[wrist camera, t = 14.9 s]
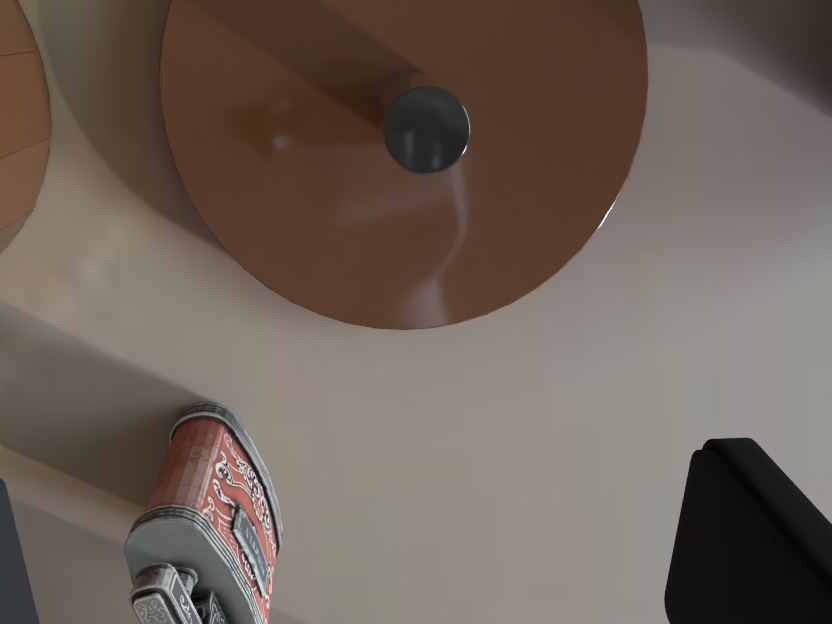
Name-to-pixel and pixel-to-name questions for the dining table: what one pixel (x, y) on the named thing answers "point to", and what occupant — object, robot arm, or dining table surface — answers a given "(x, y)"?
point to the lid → (403, 143)
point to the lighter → (206, 528)
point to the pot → (20, 121)
